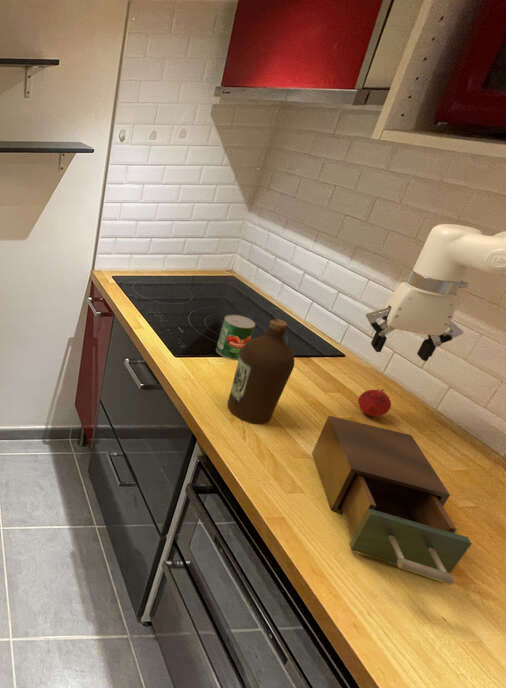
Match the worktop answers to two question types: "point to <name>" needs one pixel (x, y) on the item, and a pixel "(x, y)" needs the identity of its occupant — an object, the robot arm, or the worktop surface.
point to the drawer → (402, 527)
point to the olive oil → (261, 375)
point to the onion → (374, 402)
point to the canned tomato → (234, 336)
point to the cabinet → (371, 459)
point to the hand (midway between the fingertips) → (398, 353)
